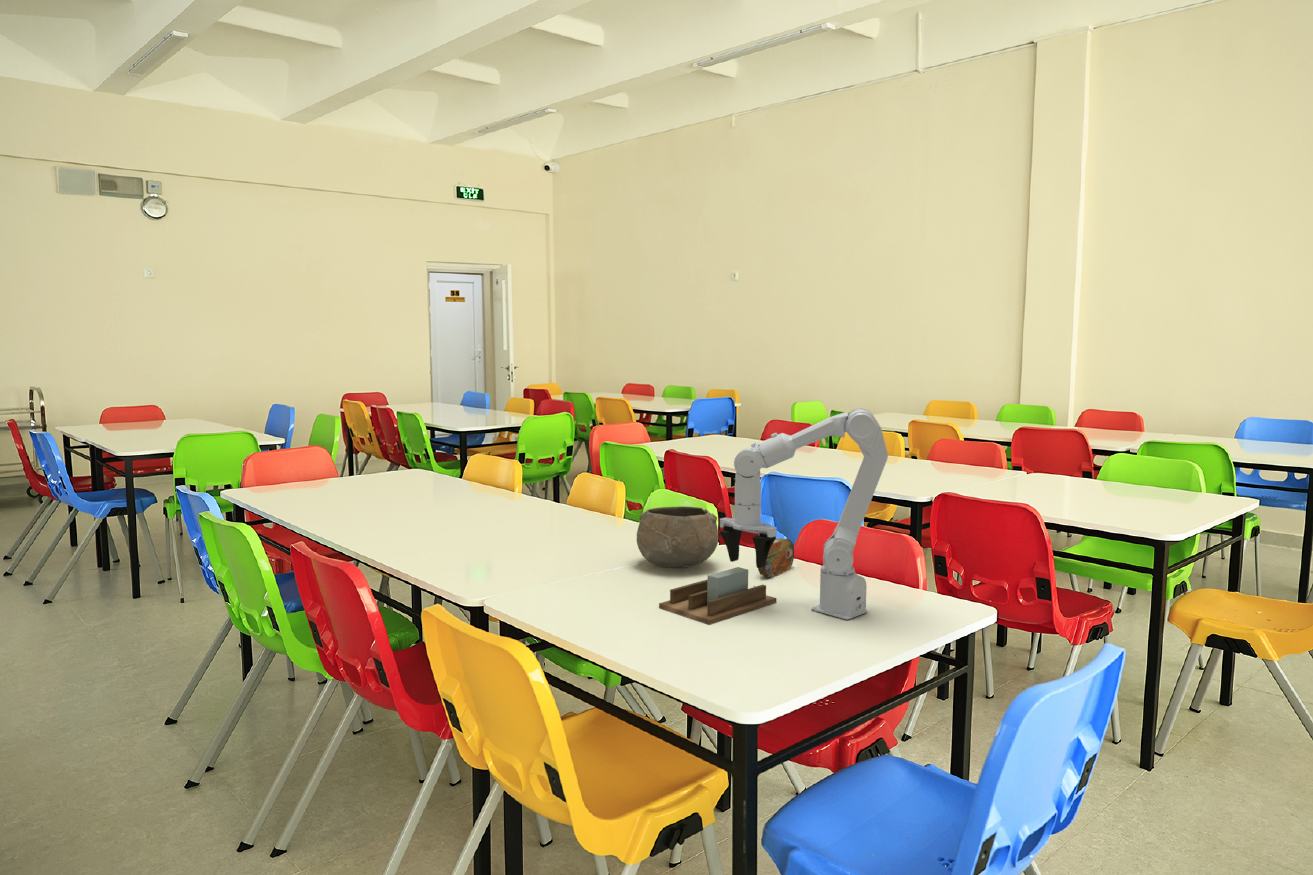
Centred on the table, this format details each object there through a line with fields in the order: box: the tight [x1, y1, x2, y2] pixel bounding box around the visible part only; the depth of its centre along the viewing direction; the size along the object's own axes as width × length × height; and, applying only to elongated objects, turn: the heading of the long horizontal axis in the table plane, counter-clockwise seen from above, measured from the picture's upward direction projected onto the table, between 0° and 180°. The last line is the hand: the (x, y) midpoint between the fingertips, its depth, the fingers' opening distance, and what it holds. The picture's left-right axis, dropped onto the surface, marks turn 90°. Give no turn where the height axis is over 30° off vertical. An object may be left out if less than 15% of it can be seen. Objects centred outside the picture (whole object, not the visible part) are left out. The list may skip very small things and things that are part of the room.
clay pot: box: [636, 506, 719, 569], centre depth 219 cm, size 21×21×15 cm
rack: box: [658, 578, 778, 626], centre depth 188 cm, size 15×22×4 cm
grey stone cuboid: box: [706, 566, 749, 607], centre depth 185 cm, size 3×10×7 cm, turn 134°
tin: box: [757, 537, 795, 579], centre depth 214 cm, size 15×3×8 cm, turn 143°
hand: (747, 563), depth 187 cm, fingers open, 7 cm apart
